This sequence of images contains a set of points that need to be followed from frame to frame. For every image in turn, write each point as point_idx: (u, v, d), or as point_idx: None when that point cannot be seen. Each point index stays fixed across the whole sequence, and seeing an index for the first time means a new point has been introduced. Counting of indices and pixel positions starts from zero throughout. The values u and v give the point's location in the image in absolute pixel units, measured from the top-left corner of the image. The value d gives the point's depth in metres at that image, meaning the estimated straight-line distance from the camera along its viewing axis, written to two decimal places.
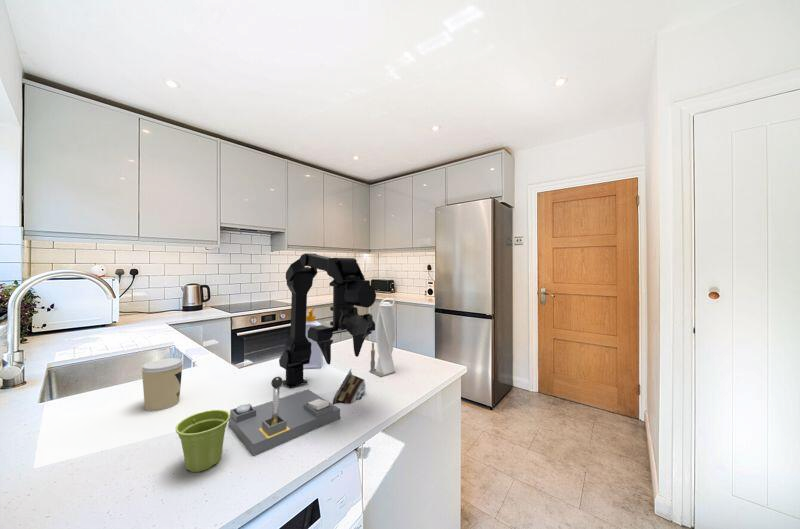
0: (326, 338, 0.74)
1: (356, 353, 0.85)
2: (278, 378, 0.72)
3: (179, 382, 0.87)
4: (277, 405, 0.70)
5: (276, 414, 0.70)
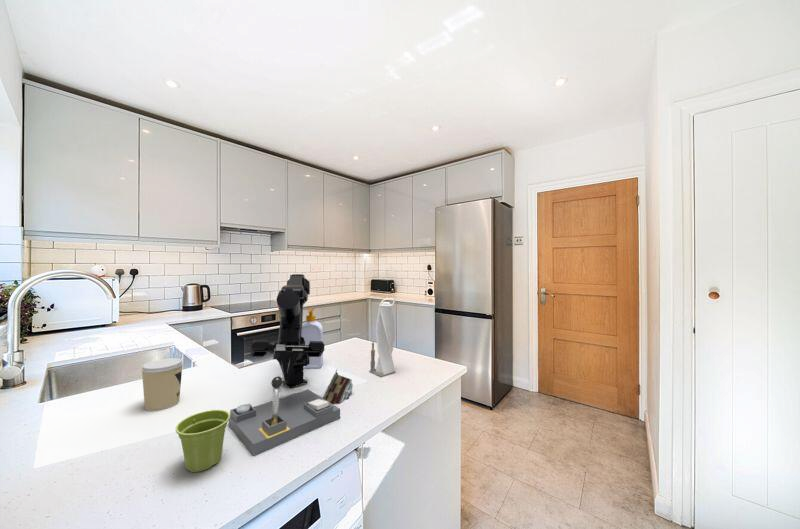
0: None
1: None
2: (278, 378, 0.72)
3: (179, 382, 0.87)
4: (277, 405, 0.70)
5: (276, 414, 0.70)
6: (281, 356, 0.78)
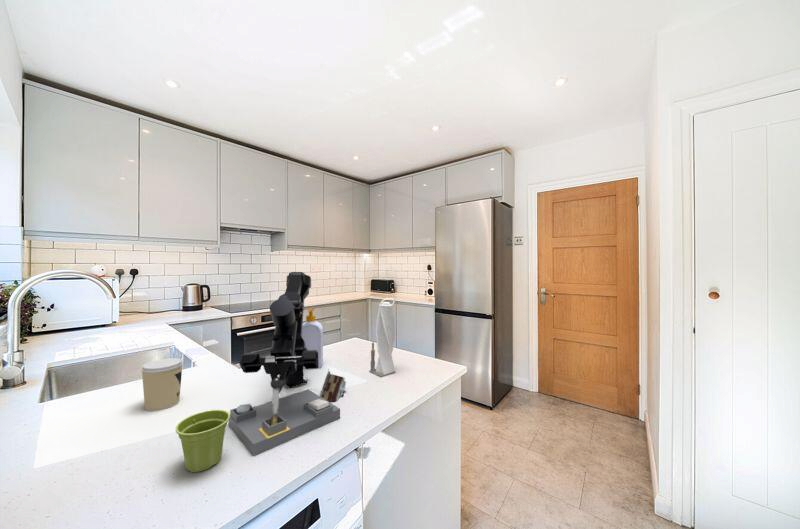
0: None
1: None
2: (277, 379, 0.71)
3: (179, 382, 0.87)
4: (277, 406, 0.70)
5: (276, 414, 0.69)
6: (269, 368, 0.73)
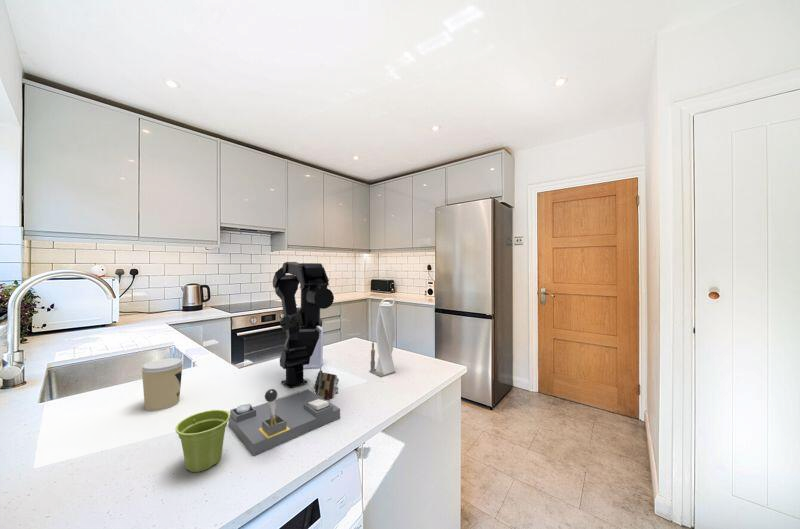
0: None
1: None
2: (272, 395, 0.65)
3: (179, 382, 0.87)
4: (274, 413, 0.67)
5: (275, 419, 0.68)
6: (318, 338, 0.89)
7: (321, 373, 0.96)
